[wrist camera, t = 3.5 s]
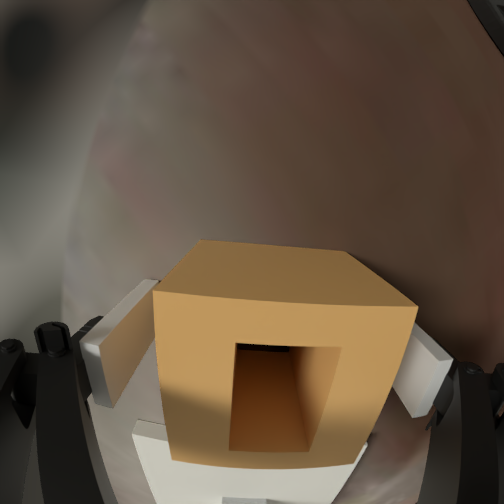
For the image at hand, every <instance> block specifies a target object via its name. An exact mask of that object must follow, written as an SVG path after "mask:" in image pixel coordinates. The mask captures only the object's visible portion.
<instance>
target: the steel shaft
mask: <svg viewBox="0 0 504 504" xmlns="http://www.w3.org/2000/svg"><path fill="white" fill-rule="evenodd" d="M222 504H267V503H266V499H259V498H235V497H222Z"/></svg>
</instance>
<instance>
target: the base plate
mask: <svg viewBox="0 0 504 504" xmlns="http://www.w3.org/2000/svg"><path fill="white" fill-rule="evenodd" d="M132 437H133V440H134V443H135V446H136V449H137V453H138V456H139V459H140V461H141V464H142V467H143V470H144V473H145V475H146V478H147V481H148V483H149V486H150V488H151V491H152V493H153V496H154V498H155V501H156V503H157V504H222V497H235V498H259V499H266V503H267V504H331V503H332V501H333V500H334V499H335V497H336V496H337V494H338V493H339V491H340V490H341V488H342V487H343V485H344V484H345V482H346V481H347V479H348V478H349V476H350V474H351V473H352V471H353V470H354V468H355V466H356V465H357V463H358V461H359V460H360V458H361V456H362V454H363V453H364V451H365V449H366V447H367V445H368V444H367V442H365V444H364V446H363V448H362V450H361V452H360V453H359V455H358V457H357V459H356V461H355V462H354V464H348V465H340V466H331V467H320V468H306V469H242V468H228V467H217V466H208V465H200V464H193V463H186V462H180V461H174V460H172V459H171V454H170V449H169V443H168V438H167V432H166V426H165V425H162V424H157V423H152V422H147V421H143V420H137V423H136V425H135V427H134V429H133V432H132Z"/></svg>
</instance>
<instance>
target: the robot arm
mask: <svg viewBox="0 0 504 504" xmlns="http://www.w3.org/2000/svg"><path fill="white" fill-rule="evenodd" d="M468 1H469V3H470V5H471V6H472V8H473V10H474V11H475V13H476V15H477V16H478V18H479V19H480V21H481V22H482V24H483V25H484V27H485V28H486V30H487V31H488V33H489V34H490V36H491V37H492V39H493V40H494V42H495V43H496V45H497V46H498V47H499V49H500V50H501V52H502V53H503V54H504V0H468ZM158 284H159V280H150V279H144V280H143V281H142V282H141V283H140V284H139V285H138V286H137V287H136V288H134V289H133V290H132V291H131V292H130V293H129V294H128V295H127V296H126V297H125V298H124V299H123V300H121V301H120V302H119V303H118V304H117V305H116V306H115V307H114V308H113V309H112V310H111V311H110V312H109V313H108V314H107V315H106V316H105V317H103V316H98V317H95V318H93V319H91V320H89V321H88V322H87V323H86V324H85V325H84V327H82V328H81V329H80V330H79V331H77V332H76V333H75V334H74V335H73V336H72V337H70V332H69V328H68V326H67V325H66V324H64V323H61V322H47V323H44V324H41V325H39V326H38V327H37V328H36V329H35V330H34V335H35V339H36V342H37V346H38V350H39V353H28V352H25V349H24V346H23V343H22V342H21V341H20V340H16V339H7V340H3V341H2V342H0V504H22V498H23V491H24V484H25V477H26V472H27V466H28V461H29V456H30V452H31V447H32V443H33V439H34V435H35V431H36V438H37V453H38V464H39V472H40V481H41V487H42V493H43V498H44V504H118V502H117V500H116V497H115V495H114V492H113V489H112V487H111V484H110V481H109V478H108V475H107V472H106V469H105V466H104V463H103V459H102V456H101V453H100V449H99V445H98V442H97V438H96V434H95V430H94V426H93V421H92V417H91V412H90V407H89V404H88V401H87V398H88V397H89V395H90V394H91V392H92V395H93V398H94V401H95V404H98V405H102V406H105V407H109V408H114V406H115V404H116V403H117V401H118V399H119V397H120V396H121V394H122V392H123V390H124V389H125V387H126V385H127V383H128V382H129V380H130V378H131V376H132V375H133V373H134V371H135V370H136V368H137V366H138V365H139V363H140V361H141V360H142V358H143V356H144V354H145V353H146V351H147V349H148V348H149V346H150V344H151V343H152V341H153V340H154V338H155V327H154V309H153V290H154V288H155V287H156V286H157V285H158ZM392 387H393V388H394V390H395V391H396V393H397V394H398V396H399V398H400V399H401V401H402V402H403V404H404V406H405V407H406V409H407V410H408V412H409V414H410V415H411V417H412V418H415V417H420V416H424V415H427V414H428V412H429V410H430V408H431V406H432V404H434V405H435V407H436V408H437V409H436V411H435V413H434V415H433V416H432V418H431V420H430V422H429V423H428V425H427V427H426V429H425V430H428V429H429V427H430V426H432V428H431V436H430V444H429V450H428V456H427V462H426V467H425V473H424V477H423V482H422V486H421V491H420V495H419V498H418V502H417V504H504V412H503V414H502V416H501V417H499V415H498V413H499V411H500V409H501V408H502V406H503V404H504V363H499V364H497V365H496V367H495V369H494V372H493V374H487V373H484V371H483V369H482V368H481V367H480V366H478V365H476V364H474V363H471V362H461V363H460V362H459V361H458V360H457V359H456V358H455V357H454V356H453V355H452V354H450V353H449V352H448V351H446V349H445V348H444V347H443V346H442V345H441V344H440V343H439V342H438V341H437V340H436V339H434V338H432V337H430V336H429V335H428V334H426V333H425V332H424V331H423V330H422V329H421V328H420V327H419V326H418V325H417V324H416V323H415V322H414V325H413V328H412V331H411V334H410V337H409V341H408V344H407V347H406V350H405V352H404V355H403V358H402V361H401V364H400V366H399V369H398V372H397V374H396V377H395V379H394V382H393V384H392Z"/></svg>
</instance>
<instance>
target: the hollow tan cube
mask: <svg viewBox="0 0 504 504" xmlns="http://www.w3.org/2000/svg"><path fill="white" fill-rule="evenodd" d="M153 309H154V327H155V342H156V354H157V364H158V374H159V383H160V391H161V399H162V406H163V413H164V420H165V426H166V432H167V438H168V443H169V449H170V454H171V459H172V460H174V461H180V462H186V463H193V464H200V465H208V466H217V467H228V468H242V469H306V468H320V467H331V466H340V465H348V464H354V462H355V461H356V459H357V457H358V455H359V453H360V452H361V450H362V448H363V446H364V444H365V442H366V441H367V439H368V437H369V435H370V433H371V431H372V429H373V427H374V425H375V423H376V421H377V419H378V416H379V414H380V412H381V410H382V408H383V406H384V403H385V401H386V399H387V396H388V394H389V392H390V389H391V387H392V384H393V382H394V379H395V377H396V374H397V372H398V369H399V366H400V364H401V361H402V358H403V355H404V352H405V350H406V347H407V344H408V341H409V337H410V334H411V331H412V328H413V325H414V321H415V318H416V314H417V311H418V306H417V305H416V304H415V303H413V302H412V301H411V300H410V299H408V298H407V297H406V296H404V295H403V294H402V293H401V292H399V291H398V290H397V289H395V288H394V287H393V286H391V285H390V284H389V283H387V282H386V281H385V280H383V279H382V278H381V277H379V276H378V275H377V274H375V273H374V272H373V271H371V270H370V269H369V268H367V267H366V266H365V265H363V264H362V263H360V262H359V261H358V260H356V259H355V258H354V257H352V256H351V255H349V254H348V253H347V252H345V251H335V250H323V249H312V248H300V247H288V246H276V245H264V244H252V243H240V242H227V241H215V240H202V239H201V240H200V241H199V242H198V243H197V244H196V245H195V246H194V247H193V248H192V249H191V250H190V251H189V252H188V253H187V254H186V256H185V257H184V258H183V259H182V260H181V261H180V262H179V263H178V264H177V265H176V266H175V267H174V268H173V269H172V270H171V271H170V272H169V273H168V275H167V276H166V277H165V278H164V279H163V280H162V281H161V282H160V283H159V284H158V285H157V286H156V287H155V288H154V290H153ZM238 343H247V344H261V345H280V346H290V348H289V352H268V351H252V350H239V349H237V345H238Z"/></svg>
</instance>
